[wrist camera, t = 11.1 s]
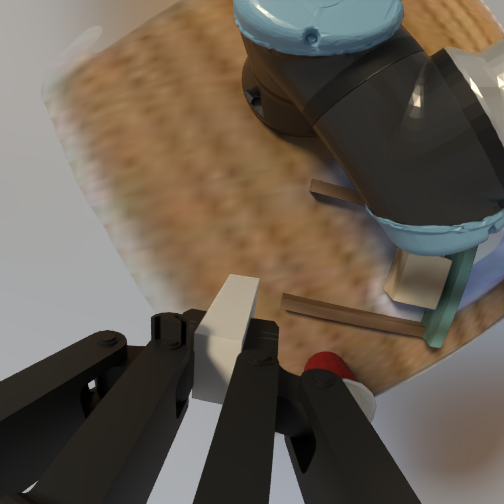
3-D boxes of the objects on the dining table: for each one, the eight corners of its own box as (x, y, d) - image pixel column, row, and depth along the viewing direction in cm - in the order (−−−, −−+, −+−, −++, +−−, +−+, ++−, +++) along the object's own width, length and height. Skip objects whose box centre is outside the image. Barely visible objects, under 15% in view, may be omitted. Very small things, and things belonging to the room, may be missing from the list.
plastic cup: (356, 328, 41) (377, 374, 29) (359, 385, 43) (375, 436, 31) (282, 341, 43) (281, 392, 31) (293, 397, 45) (294, 450, 33)
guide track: (311, 179, 38) (316, 178, 33) (463, 227, 36) (481, 232, 32) (280, 303, 41) (280, 317, 37) (427, 333, 40) (440, 347, 35)
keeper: (398, 241, 38) (410, 248, 34) (437, 253, 38) (452, 260, 34) (383, 289, 40) (393, 300, 35) (422, 298, 39) (435, 309, 35)
